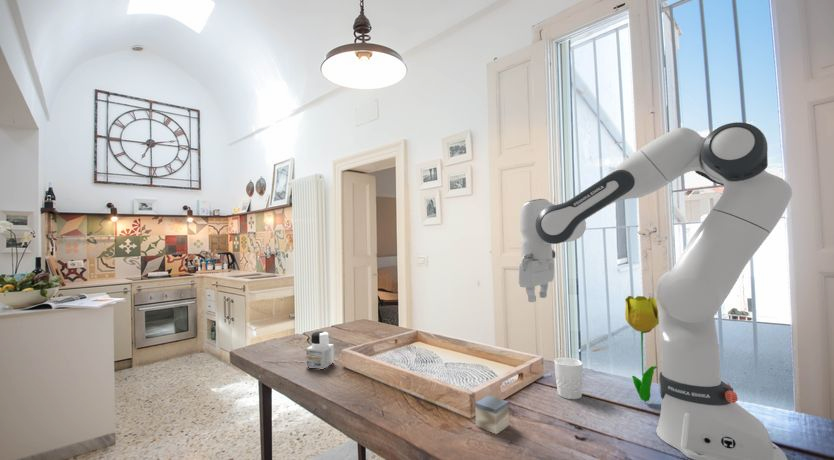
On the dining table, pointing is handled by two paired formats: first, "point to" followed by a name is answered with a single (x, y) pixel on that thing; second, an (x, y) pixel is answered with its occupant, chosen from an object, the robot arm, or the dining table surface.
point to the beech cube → (492, 414)
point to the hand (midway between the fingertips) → (537, 299)
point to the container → (320, 351)
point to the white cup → (568, 377)
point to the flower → (642, 319)
